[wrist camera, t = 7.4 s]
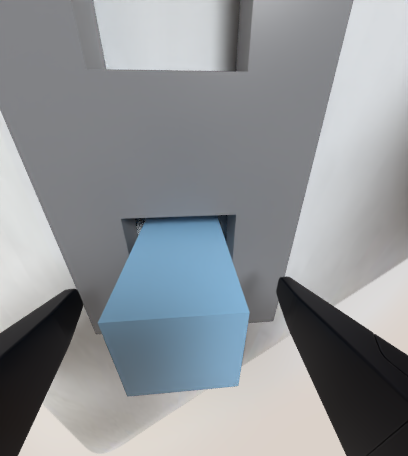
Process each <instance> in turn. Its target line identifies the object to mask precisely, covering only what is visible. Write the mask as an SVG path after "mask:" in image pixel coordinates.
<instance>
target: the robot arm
mask: <svg viewBox="0 0 408 456" xmlns="http://www.w3.org/2000/svg"><path fill="white" fill-rule="evenodd" d="M276 294H277V297H278V300H279V303H280V306H281V309H282V312H283V315H284V318H285V321H286V324H287V326H288V329H289V331H290V334H291V336H292V337H293V340H294V342H295V344H296V347H297V349H298V351H299V353H300V355H301V358H302V360H303V362H304V364H305V366H306V368H307V371H308V373H309V375H310V377H311V379H312V381H313V384H314V386H315V388H316V390H317V392H318V395H319V397H320V399H321V401H322V403H323V405H324V408H325V410H326V412H327V414H328V416H329V419H330V421H331V423H332V425H333V427H334V429H335V432H336V434H337V436H338V438H339V440H340V442H341V445H342V447H343V449H344V451H345V454H346V455H347V456H408V355H407V354H405V353H403V352H402V351H400V350H399V349H397V348H395V347H394V346H393V345H391V344H390V343H388V342H386V341H385V340H383V339H382V338H380V337H379V336H377V335H376V334H373V332H371V331H370V330H368V329H367V328H365V327H364V326H362V325H361V324H359V323H358V322H356V321H355V320H353V319H352V318H350V317H349V316H347V315H346V314H344V313H343V312H341V311H340V310H338V309H337V308H335V307H334V306H332V305H331V304H329V303H328V302H326V301H325V300H323V299H322V298H320V297H319V296H317V295H316V294H314V293H313V292H311V291H310V290H308V289H307V288H305V287H304V286H302V285H301V284H299V283H298V282H296V281H295V280H293V279H292V278H290V277H280V278H279V280H278V284H277V289H276ZM82 308H83V301H82V299H81V296H80V294H79V292H78V290H77V289H67V290H64V291H63V292H61V293H60V294H58V295H57V296H55V297H54V298H52V299H51V300H49V301H48V302H46V303H45V304H43V305H42V306H40V307H39V308H37V309H36V310H34V311H33V312H31V313H30V314H28V315H27V316H25V317H24V318H22V319H21V320H19V321H18V322H16V323H15V324H13V325H12V326H10V327H9V328H7V329H6V330H4V331H3V332H1V333H0V456H18V454H19V452H20V450H21V448H22V446H23V444H24V441H25V439H26V437H27V435H28V433H29V431H30V428H31V426H32V424H33V422H34V420H35V418H36V416H37V413H38V411H39V409H40V407H41V405H42V403H43V401H44V398H45V396H46V394H47V392H48V390H49V388H50V386H51V383H52V381H53V379H54V377H55V375H56V373H57V370H58V368H59V366H60V364H61V362H62V360H63V358H64V355H65V353H66V351H67V349H68V347H69V344H70V342H71V339H72V337H73V334H74V331H75V328H76V325H77V322H78V320H79V317H80V314H81V311H82Z"/></svg>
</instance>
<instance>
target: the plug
mask: <svg viewBox="0 0 408 456" xmlns="http://www.w3.org/2000/svg"><path fill="white" fill-rule="evenodd" d="M249 314H250V312H249V309H248V306H247V303H246V300H245V297H244V294H243V291H242V288H241V285H240V282H239V279H238V276H237V273H236V270H235V267H234V265H233V262H232V259H231V256H230V253H229V250H228V247H227V244H226V241H225V238H224V235H223V232H222V229H221V226H220V223H219V220H218V217H217V215H210V216H182V217H153V218H146V221H145V223H144V225H143V227H142V229H141V231H140V233H139V236H138V238H137V240H136V242H135V244H134V246H133V248H132V251H131V253H130V255H129V257H128V259H127V261H126V263H125V266H124V268H123V270H122V272H121V274H120V276H119V278H118V281H117V283H116V285H115V287H114V289H113V291H112V293H111V296H110V298H109V300H108V302H107V304H106V306H105V309H104V311H103V313H102V315H101V317H100V319H99V321H98V325H99V328H100V330H101V332H102V335H103V337H104V340H105V342H106V345H107V347H108V350H109V352H110V355H111V357H112V360H113V362H114V364H115V367H116V369H117V372H118V374H119V377H120V379H121V382H122V384H123V387H124V389H125V391H126V394H127V396H139V395H149V394H160V393H170V392H181V391H191V390H202V389H212V388H222V387H233V386H238V384H239V377H240V371H241V365H242V359H243V352H244V346H245V339H246V333H247V327H248V320H249Z"/></svg>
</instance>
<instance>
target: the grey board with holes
mask: <svg viewBox="0 0 408 456" xmlns="http://www.w3.org/2000/svg"><path fill="white" fill-rule="evenodd" d="M352 4H353V0H240V10H239V28H238V45H237V62H236V71H172V70H106V66H105V61H104V56H103V50H102V45H101V40H100V35H99V29H98V24H97V19H96V14H95V9H94V3H93V0H0V110H1V113H2V115H3V117H4V120H5V122H6V124H7V127H8V129H9V131H10V134H11V136H12V138H13V141H14V143H15V145H16V148H17V150H18V152H19V155H20V157H21V159H22V162H23V164H24V166H25V169H26V171H27V173H28V176H29V178H30V180H31V183H32V185H33V187H34V190H35V192H36V195H37V197H38V199H39V202H40V204H41V206H42V209H43V211H44V213H45V216H46V218H47V220H48V223H49V225H50V227H51V230H52V232H53V234H54V237H55V239H56V241H57V244H58V246H59V248H60V251H61V253H62V255H63V258H64V260H65V262H66V265H67V267H68V269H69V272H70V274H71V276H72V279H73V281H74V284H75V286H76V288H77V290H78V292H79V294H80V296H81V299H82V301H83V305H84V307H85V309H86V312H87V314H88V316H89V319H90V321H91V323H92V326H93V328H94V330H95V333H96V334H102V332H101V330H100V328H99V325H98V321H99V319H100V317H101V315H102V313H103V311H104V309H105V306H106V304H107V302H108V300H109V298H110V296H111V293H112V291H113V289H114V287H115V285H116V283H117V281H118V278H119V276H120V274H121V272H122V270H123V268H124V266H125V263H126V261H127V259H128V257H129V255H130V253H131V251H132V248H133V246H134V244H135V242H136V240H137V238H138V233H137V228H136V223H135V218H153V217H182V216H210V215H228V218H227V235H226V244H227V247H228V250H229V253H230V256H231V259H232V262H233V265H234V267H235V270H236V273H237V276H238V279H239V282H240V285H241V288H242V291H243V294H244V297H245V300H246V303H247V306H248V309H249V312H250V314H249V320H248V323H256V322H270V321H273V320H274V316H275V312H276V308H277V304H278V297H277V294H276V289H277V284H278V280H279V278H280V277H284V276H285V272H286V268H287V264H288V260H289V256H290V252H291V248H292V244H293V240H294V236H295V232H296V228H297V224H298V220H299V216H300V212H301V208H302V204H303V200H304V196H305V192H306V188H307V184H308V180H309V176H310V172H311V168H312V164H313V160H314V156H315V152H316V148H317V144H318V140H319V136H320V132H321V128H322V124H323V120H324V116H325V112H326V108H327V104H328V100H329V96H330V92H331V88H332V84H333V80H334V76H335V72H336V68H337V64H338V60H339V56H340V52H341V48H342V44H343V40H344V36H345V32H346V28H347V24H348V20H349V16H350V12H351V8H352Z"/></svg>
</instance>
